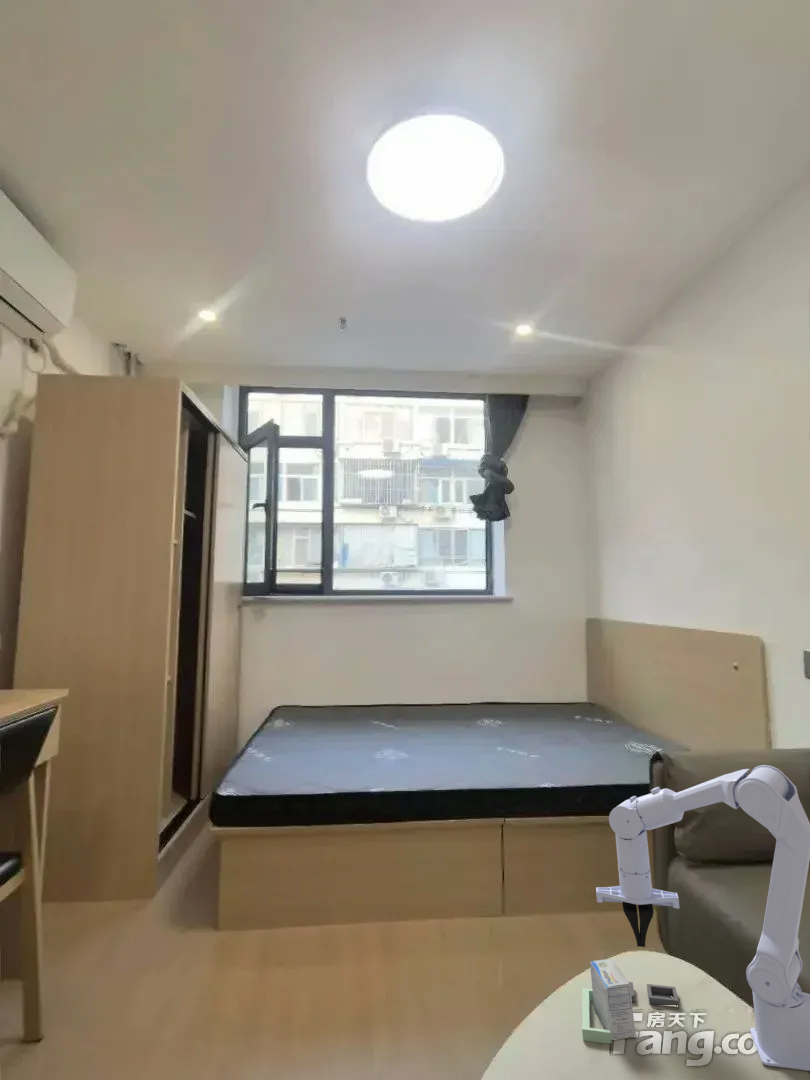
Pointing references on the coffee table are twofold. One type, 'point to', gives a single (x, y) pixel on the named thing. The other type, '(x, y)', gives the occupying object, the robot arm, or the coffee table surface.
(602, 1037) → the mint green u-bracket
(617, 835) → the robot arm
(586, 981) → the coffee table surface
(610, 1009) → the medicine box
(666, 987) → the grey flat rectangular tray
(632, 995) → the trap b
